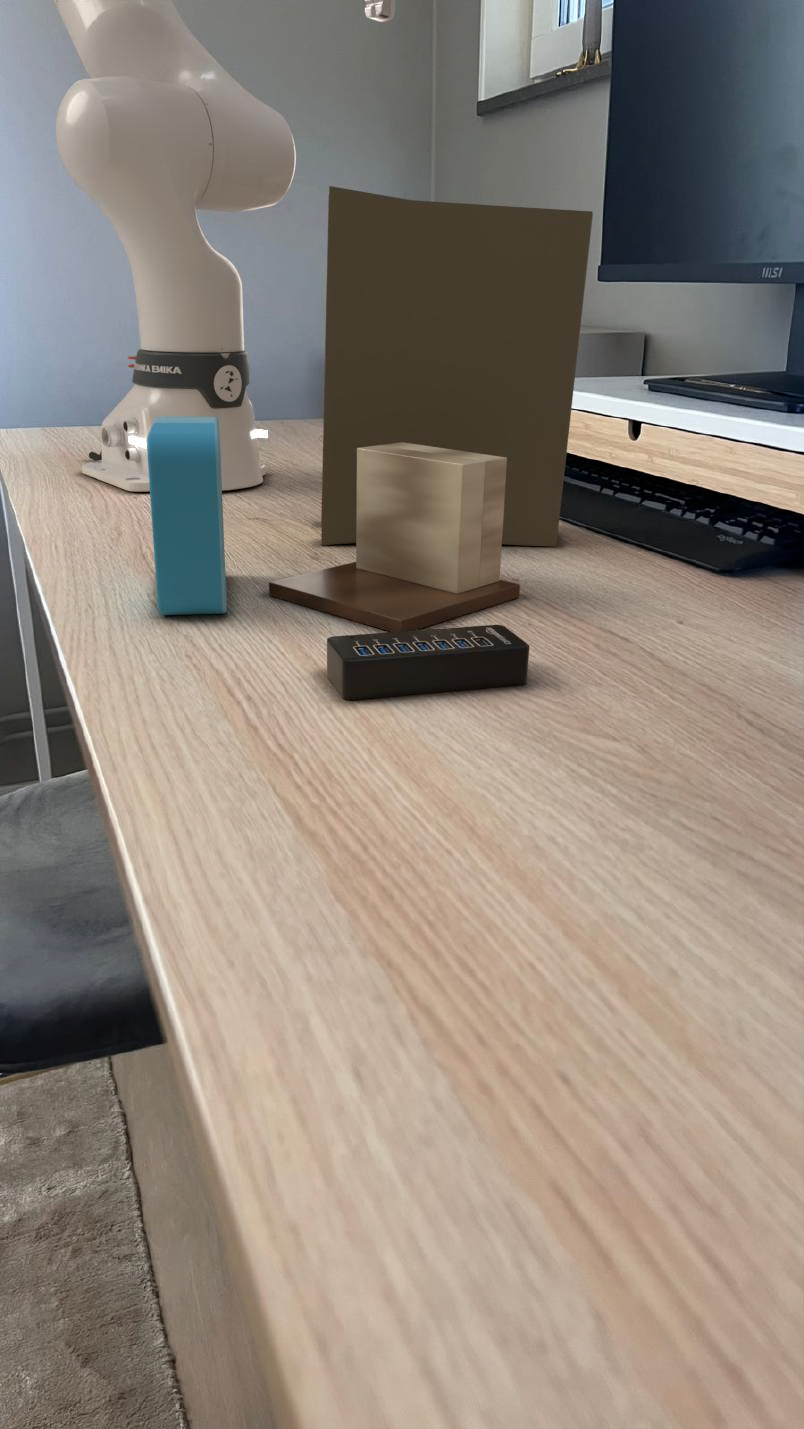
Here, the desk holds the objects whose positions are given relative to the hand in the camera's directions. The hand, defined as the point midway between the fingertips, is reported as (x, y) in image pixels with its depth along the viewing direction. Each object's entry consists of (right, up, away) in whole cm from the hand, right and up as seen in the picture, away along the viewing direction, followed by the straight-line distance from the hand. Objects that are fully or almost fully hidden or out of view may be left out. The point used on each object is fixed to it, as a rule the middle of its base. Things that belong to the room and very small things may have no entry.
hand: (335, 6), depth 74 cm
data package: (-10, -43, 0) cm, 44 cm away
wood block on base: (+4, -42, +1) cm, 43 cm away
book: (+9, -35, +21) cm, 41 cm away
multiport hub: (+6, -49, -15) cm, 52 cm away
